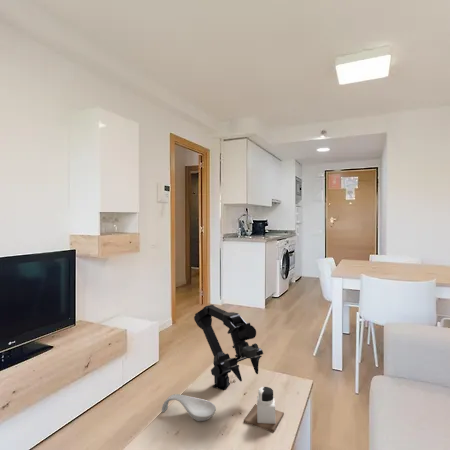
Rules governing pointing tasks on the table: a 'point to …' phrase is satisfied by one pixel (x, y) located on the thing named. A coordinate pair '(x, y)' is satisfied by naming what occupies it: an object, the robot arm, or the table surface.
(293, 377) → the table surface
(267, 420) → the medicine bottle
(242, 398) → the table surface
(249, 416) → the walnut board
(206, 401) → the spoon rest
